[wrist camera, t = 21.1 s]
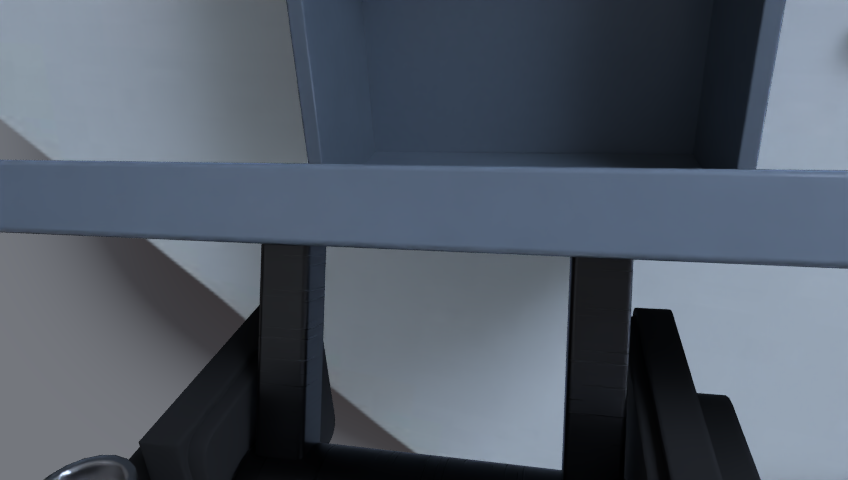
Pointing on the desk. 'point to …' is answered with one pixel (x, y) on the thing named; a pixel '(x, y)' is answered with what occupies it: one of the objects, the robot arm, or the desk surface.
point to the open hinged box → (535, 81)
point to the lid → (440, 231)
